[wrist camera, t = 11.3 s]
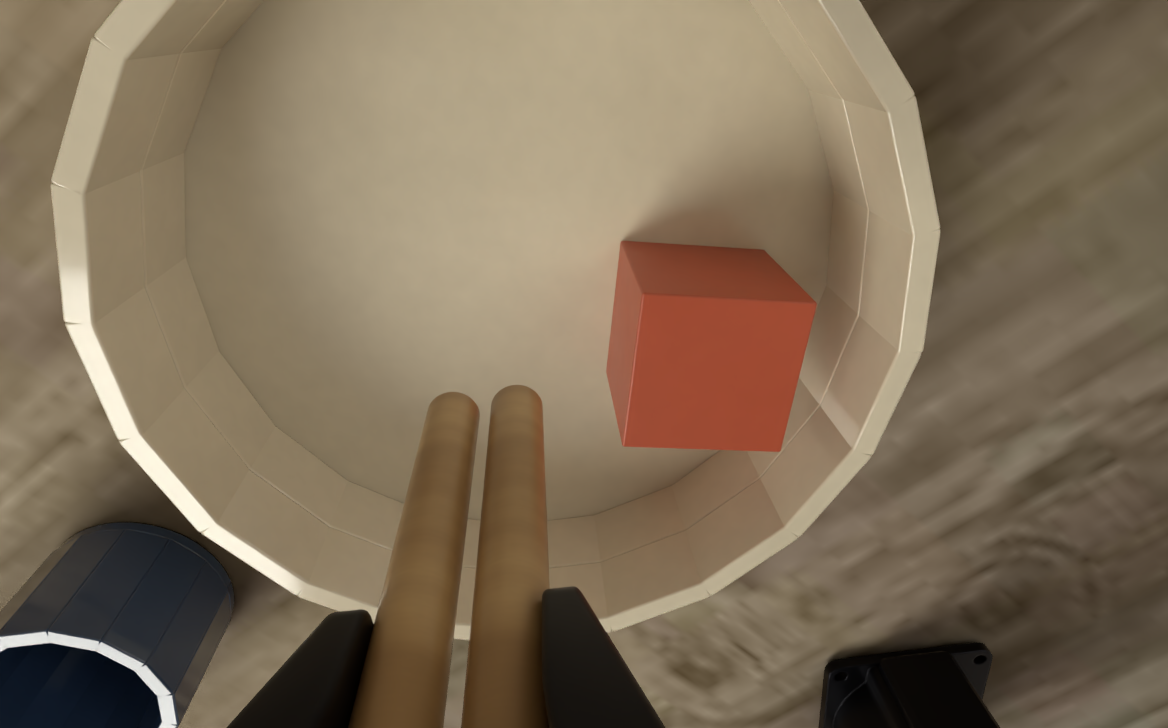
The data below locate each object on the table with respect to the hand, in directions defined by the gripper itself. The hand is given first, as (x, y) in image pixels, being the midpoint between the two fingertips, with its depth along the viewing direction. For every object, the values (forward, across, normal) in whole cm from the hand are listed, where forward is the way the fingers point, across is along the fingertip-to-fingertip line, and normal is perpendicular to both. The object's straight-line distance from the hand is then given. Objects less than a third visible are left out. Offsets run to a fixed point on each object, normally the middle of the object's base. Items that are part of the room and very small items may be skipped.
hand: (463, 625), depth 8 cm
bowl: (+13, 0, 0) cm, 13 cm away
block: (+12, -5, +2) cm, 13 cm away
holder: (+13, +13, +10) cm, 21 cm away
